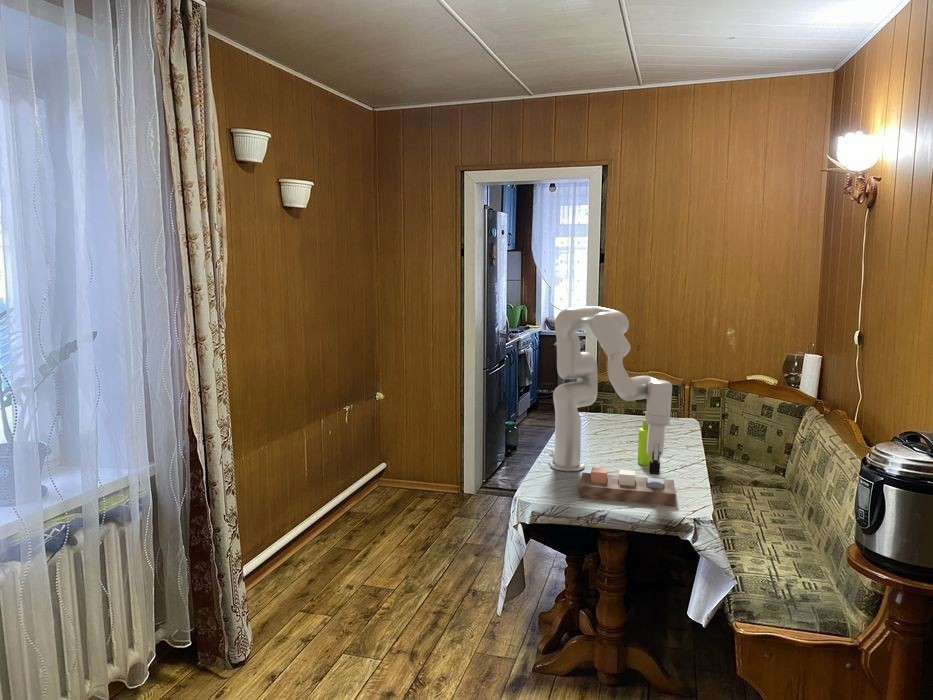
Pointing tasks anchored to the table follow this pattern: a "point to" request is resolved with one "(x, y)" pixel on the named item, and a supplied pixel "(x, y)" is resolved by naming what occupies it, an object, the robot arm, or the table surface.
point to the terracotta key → (599, 475)
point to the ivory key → (627, 477)
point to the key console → (627, 491)
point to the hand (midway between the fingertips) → (654, 473)
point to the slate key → (655, 483)
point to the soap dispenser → (643, 444)
